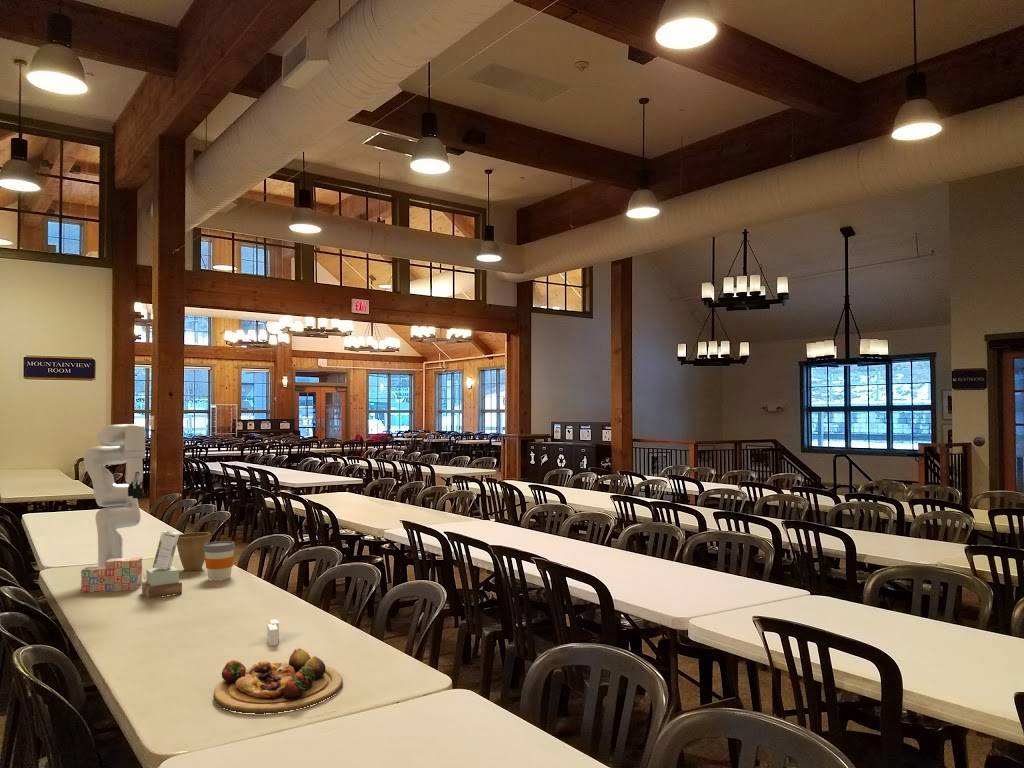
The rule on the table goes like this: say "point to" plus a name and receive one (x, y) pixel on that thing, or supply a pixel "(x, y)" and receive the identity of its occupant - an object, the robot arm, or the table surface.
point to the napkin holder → (273, 632)
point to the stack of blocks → (113, 575)
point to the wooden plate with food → (276, 685)
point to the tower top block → (162, 576)
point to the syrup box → (166, 550)
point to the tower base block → (161, 589)
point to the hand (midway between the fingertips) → (134, 497)
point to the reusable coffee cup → (219, 559)
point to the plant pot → (192, 549)
